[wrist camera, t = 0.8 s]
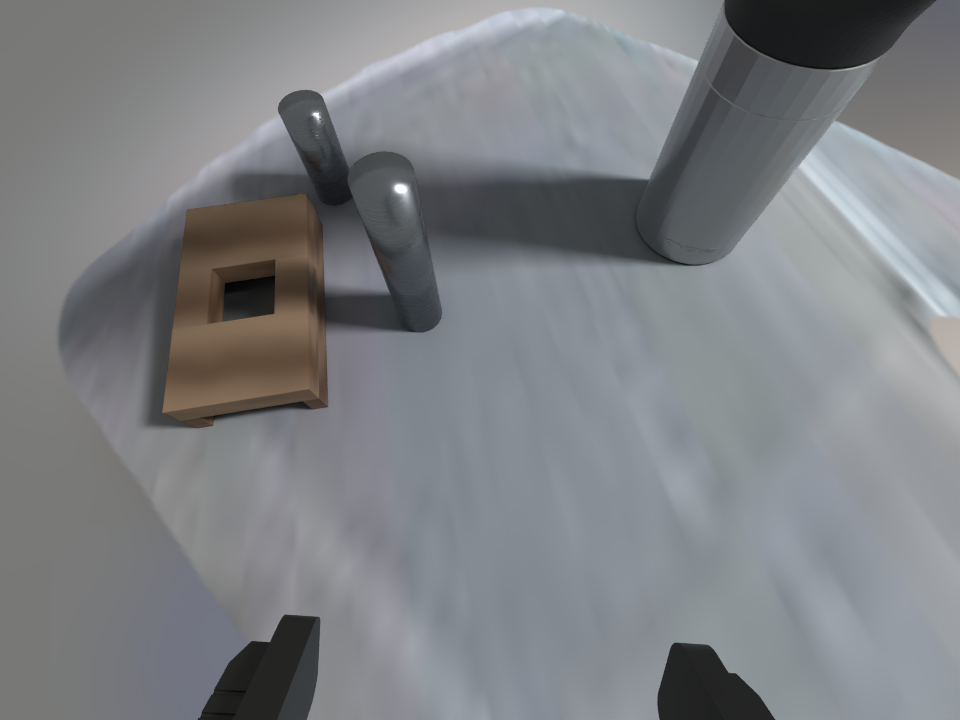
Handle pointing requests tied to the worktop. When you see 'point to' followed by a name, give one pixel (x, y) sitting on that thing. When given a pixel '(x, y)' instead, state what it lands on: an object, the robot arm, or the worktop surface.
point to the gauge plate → (257, 340)
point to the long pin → (397, 235)
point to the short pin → (317, 144)
